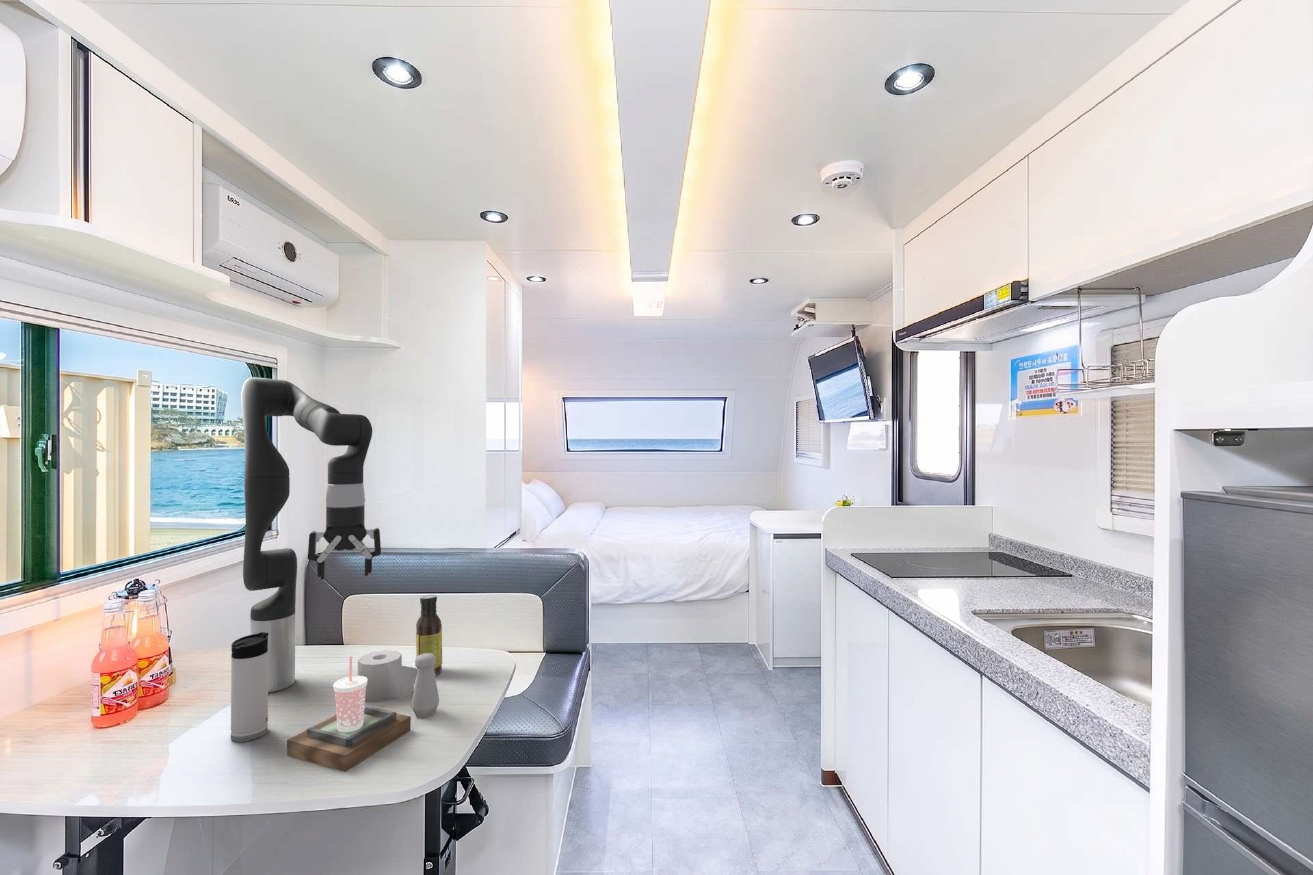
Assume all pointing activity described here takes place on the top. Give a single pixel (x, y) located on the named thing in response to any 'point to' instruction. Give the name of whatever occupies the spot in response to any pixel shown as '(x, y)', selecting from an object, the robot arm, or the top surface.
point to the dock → (348, 739)
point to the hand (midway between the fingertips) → (345, 577)
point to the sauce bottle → (429, 631)
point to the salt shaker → (425, 687)
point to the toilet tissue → (386, 675)
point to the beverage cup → (350, 701)
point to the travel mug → (249, 687)
